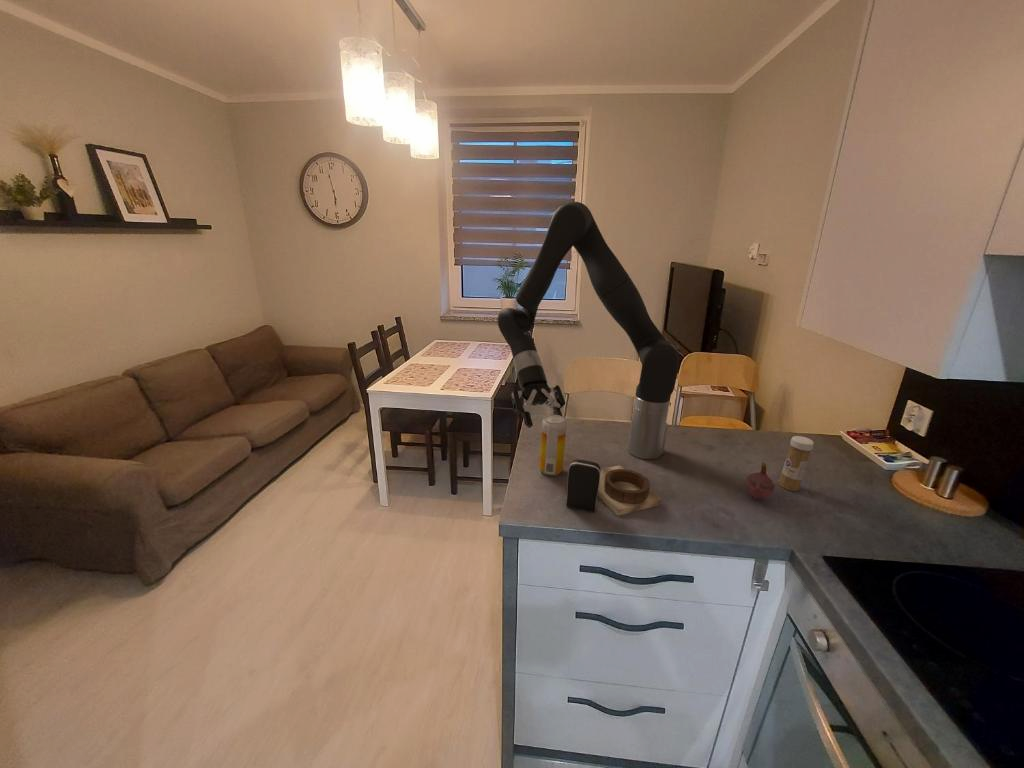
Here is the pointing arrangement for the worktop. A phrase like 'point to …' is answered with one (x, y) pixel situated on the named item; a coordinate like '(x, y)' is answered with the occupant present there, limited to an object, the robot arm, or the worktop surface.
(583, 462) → the battery charger
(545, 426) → the beer can
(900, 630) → the worktop surface
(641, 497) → the collar board
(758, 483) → the vegetable
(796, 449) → the sprinkles bottle
